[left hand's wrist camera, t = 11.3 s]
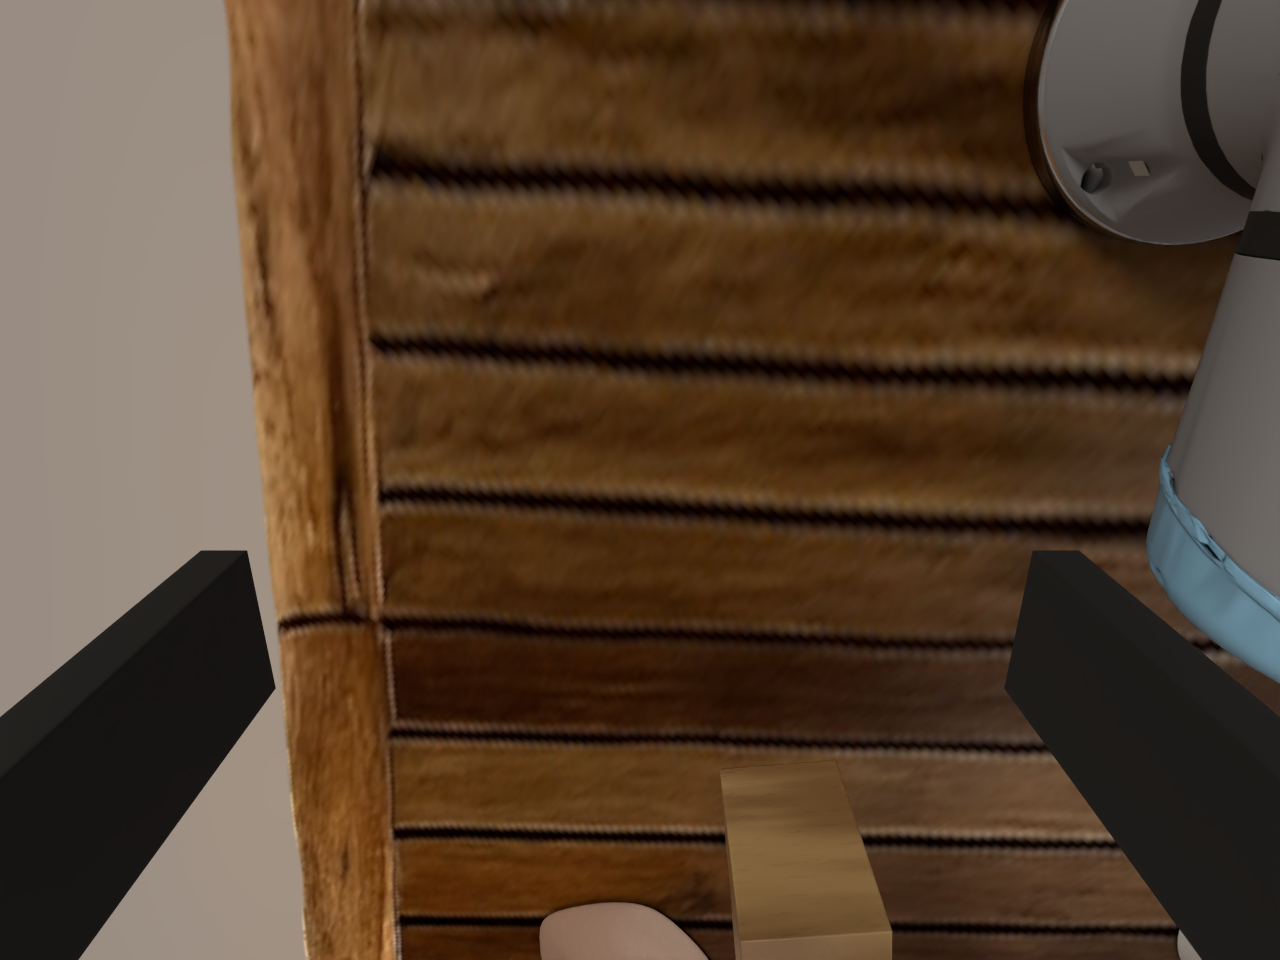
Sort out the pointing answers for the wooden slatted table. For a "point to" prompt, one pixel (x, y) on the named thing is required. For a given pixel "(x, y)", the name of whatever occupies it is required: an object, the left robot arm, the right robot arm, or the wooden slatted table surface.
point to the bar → (799, 867)
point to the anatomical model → (614, 934)
